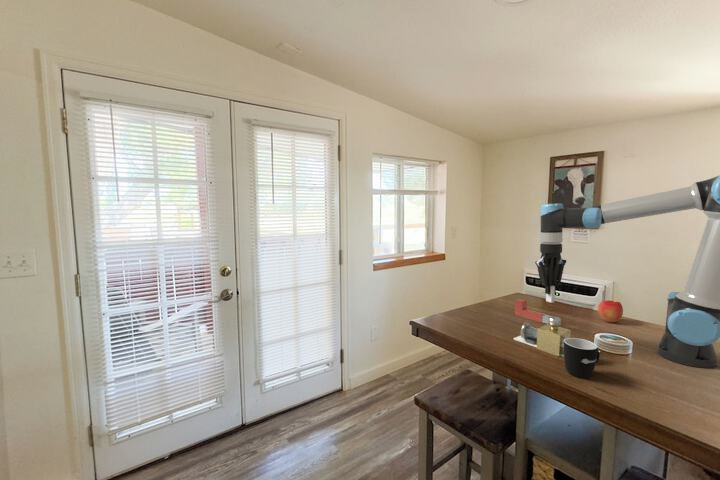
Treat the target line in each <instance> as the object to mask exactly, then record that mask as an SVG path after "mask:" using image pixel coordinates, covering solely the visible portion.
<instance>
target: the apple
mask: <svg viewBox="0 0 720 480" xmlns="http://www.w3.org/2000/svg"><path fill="white" fill-rule="evenodd" d="M597 313H598V315H599V317H600V318H601V319H602V320H603V321H604V322H606V323H616V322H619V320H621V318H622V317H623V315H624V308H623V305H622V303H621V302H620V301H614V300H611V299H610V300H609V299H608V300H602V301H601V302H599V303H598V306H597Z"/></svg>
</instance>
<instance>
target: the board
mask: <svg viewBox="0 0 720 480" xmlns="http://www.w3.org/2000/svg"><path fill="white" fill-rule="evenodd" d="M513 340H514V341H516V342H520V343H522V344H526V345H528V346H531V347H534V348H537V344H534V345H532V344H530V343H527V342H526V339H523V338H522V337H521V335H520V334H519V335H518V336H516V337H513ZM598 351H599V354H601V351H600V350H598ZM559 357H562V358H564V353H563V354H561V355H560V356H559Z"/></svg>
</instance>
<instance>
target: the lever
mask: <svg viewBox="0 0 720 480" xmlns="http://www.w3.org/2000/svg"><path fill="white" fill-rule="evenodd" d="M514 302H515V303H514V315H516V316H519V317H522V318H526V319H529V320H532V321H536V322H540V323H544V324H546V325H547V324H549V325H551V326H558V327H561V325H562V322H561V321H562V318H561V317H558V316H554V315H553V316H552V315H549V314H546V313H544V312H540V311H536V310H533V309H529V308H527V307H528V306H527V305H528V301H527V299H524V298H523V299H522V298H518V299H515V301H514Z"/></svg>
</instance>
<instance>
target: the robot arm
mask: <svg viewBox="0 0 720 480" xmlns="http://www.w3.org/2000/svg"><path fill="white" fill-rule="evenodd" d="M540 209H541V210H540V215H539V216H540V236H539V237H540V243H539V244H540V245H539V252H540V253H541V255H540V259H539V260H536V261H535V265H536V267H537V272H538V277H539V281H540V282H539V283H540V284H541V285H543V286H544V294H545V301H546V302H547V303H555V302H556V301H555V298H556V297H555V296H556V295H555V294H556V287H558V286H559V285H560V284H561V282H562V277H563V273H564V269H565V265H566V263H567V260H566V259H563V258H562V255H561V254H562V252H563V244H562V243H563V229H589V230H590V229H598V228H600V227H601V225H604V224H609V223H615V222H621V221H628V220H634V219H639V218H645V217H646V218H647V217H651V216H658V215H663V214H668V213H669V214H670V213H676V212H681V211H688V210H694V209H697V210H699V211H702V212H703V213H704V214H705V215H706V216H707V220H706V224H705V227H704V228H703V233H702V236H701V240H700V242H699V244H698V247H697V251H696V253H695V256H694V259H693V262H692V265H691V268H690V272H689V275H688V277H687V281H686V283H685V285H684V288H683V291H680V292H679V291H677V292H676V291H672V292H670V293H669V294H668V296H667V299H666V300H667V307H666V317H665V318H666V319H665V331H664V333H663V335H662V337H661V339H660V340H659V341H658V344H657V346H656V353H657V354H658V355H660V357H662V358H665V359H667V360H669V361H671V362H675V363H678V364H681V365H685V366H690V367H695V368H702V369H703V368H705V369H709V368H711V369H712V368H716V367H717V365H718V356H717V352H716V349H715V347H714V343H716V342H718V340H720V174H719V175H717V176H714V177H711V178H709V179H705V180H702V181H701V180H700V181H696V182H694V183H692V185H690V186H686V187H682V188H677V189H672V190H666V191H662V192H657V193H651V194H648V195H643V196H642V195H641V196H636V197H632V198H628V199H627V198H626V199H621V200H617V201H612V202H607V203H602V204H598V205H591V206H587V207H574V208H573V207H572V208H571V207H570V208H566V207H564V204H563V203H545V204H542V205H541V207H540Z"/></svg>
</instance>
